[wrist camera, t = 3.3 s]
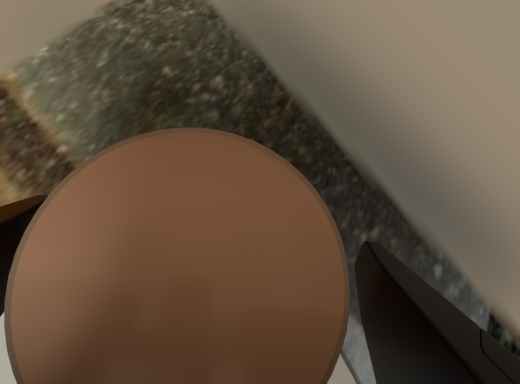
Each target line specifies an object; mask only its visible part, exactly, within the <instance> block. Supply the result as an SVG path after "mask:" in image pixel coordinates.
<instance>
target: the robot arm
mask: <svg viewBox="0 0 520 384" xmlns="http://www.w3.org/2000/svg"><path fill="white" fill-rule="evenodd" d="M47 197H48V196H46V195H37V196H33V197H30V198H27V199H23V200H20V201H17V202H14V203H10V204H7V205H4V206H1V207H0V317H1V315H2V314H3V313H4V308H5V296H6V289H7V283H8V277H9V273H10V270H11V266H12V263H13V259H14V256H15V253H16V251H17V248H18V246H19V244H20V241H21V239H22V237H23V234H24V232H25V230H26V228H27V227H28V225H29V223H30V222H31V220H32V218H33V216H34V215H35V213H36V211H37V210H38V209H39V207H40V206H41V205H42V203H43V202H44V201H45V199H46V198H47ZM355 276H356V285H357V293H358V301H359V309H360V316H361V320H362V325H363V329H364V333H365V337H366V341H367V346H368V350H369V354H370V358H371V362H372V366H373V370H374V375H375V379H376V383H377V384H520V359H519V358H518V357H516V356H515V355H514V354H513V353H511V352H510V351H509V350H508V349H507V348H505V347H504V346H503V345H502V344H500V343H499V342H498V341H497V340H495V339H494V338H493V337H492V336H491V335H489V334H488V333H487V332H486V331H485V330H483V329H480V327H479V326H478V325H477V324H476V323H475V322H474V321H472V320H471V319H470V318H469V317H468V316H466V315H465V314H464V313H463V312H461V311H460V310H459V309H458V308H457V307H455V306H454V305H453V304H452V303H451V302H449V301H448V300H447V299H446V298H445V297H443V296H442V295H441V294H440V293H439V292H437V291H436V290H435V289H434V288H432V287H431V286H430V285H429V284H428V283H426V282H425V281H424V280H423V279H422V278H420V277H419V276H418V275H417V274H416V273H414V272H413V271H412V270H411V269H409V268H408V267H407V266H406V265H405V264H403V263H402V262H401V261H400V260H399V259H397V258H396V257H395V256H394V255H393V254H391V253H390V252H389V251H388V250H387V249H385V248H384V247H383V246H382V245H380V244H379V243H376V242H369V241H366V242H364V243H363V244H362V246H361V249H360V251H359V254H358V257H357V259H356V262H355Z"/></svg>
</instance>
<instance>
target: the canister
mask: <svg viewBox="0 0 520 384" xmlns="http://www.w3.org/2000/svg"><path fill="white" fill-rule="evenodd" d="M349 309H350V281H349V271H348V263H347V259H346V254H345V250H344V246H343V242H342V239H341V236H340V234H339V231H338V228H337V226H336V223H335V221H334V219H333V217H332V215H331V213H330V211H329V209H328V207H327V206H326V204H325V202H324V201H323V200H322V198H321V197H320V195H319V194H318V192H317V191H316V189H315V188H314V187H313V186H312V185H311V183H310V182H309V181H308V180H307V179H306V178H305V177H304V176H303V174H302V173H301V172H299V171H298V170H297V169H296V168H295V167H294V166H293V165H291V164H290V163H289V162H288V161H287V160H285V159H284V158H282V157H281V156H280V155H278V154H277V153H275V152H274V151H272V150H271V149H269V148H267V147H265V146H263V145H261V144H259V143H257V142H255V141H253V140H250V139H247V138H245V137H242V136H239V135H237V134H233V133H229V132H225V131H220V130H215V129H206V128H171V129H162V130H156V131H152V132H148V133H144V134H140V135H137V136H134V137H131V138H128V139H126V140H123V141H120V142H118V143H116V144H114V145H112V146H110V147H108V148H106V149H104V150H102V151H100V152H99V153H97V154H96V155H94V156H93V157H91V158H89V159H88V160H86V161H85V162H83V163H82V164H81V165H80V166H78V167H77V168H76V169H75V170H74V171H72V172H71V173H70V174H69V175H68V176H66V177H65V178H64V179H63V180H62V181H61V182H60V183H59V185H58V186H57V187H56V188H55V189H54V190H53V191H52V192H51V193H50V194H49V195H48V197H47V198H46V199H45V201H44V202H43V203H42V205H41V206H40V207H39V209H38V210H37V211H36V213H35V215H34V216H33V218H32V220H31V222H30V223H29V225H28V227H27V228H26V230H25V232H24V234H23V237H22V239H21V241H20V244H19V246H18V248H17V251H16V253H15V256H14V259H13V263H12V266H11V270H10V273H9V277H8V283H7V289H6V296H5V308H4V329H5V338H6V347H7V352H8V356H9V360H10V364H11V368H12V372H13V375H14V377H15V380H16V382H17V384H327V383H328V381H329V379H330V377H331V375H332V373H333V370H334V368H335V365H336V363H337V361H338V358H339V356H340V353H341V349H342V346H343V342H344V338H345V334H346V331H347V323H348V316H349Z"/></svg>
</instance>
